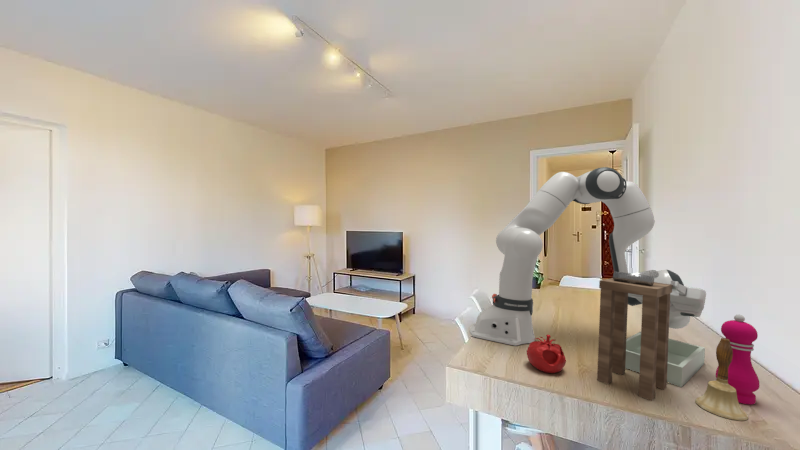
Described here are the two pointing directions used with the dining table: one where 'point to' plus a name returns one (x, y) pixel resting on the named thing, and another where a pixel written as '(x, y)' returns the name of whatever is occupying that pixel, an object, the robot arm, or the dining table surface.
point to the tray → (669, 359)
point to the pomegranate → (546, 355)
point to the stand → (651, 333)
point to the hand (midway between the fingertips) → (652, 280)
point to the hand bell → (722, 388)
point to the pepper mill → (741, 359)
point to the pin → (637, 277)
